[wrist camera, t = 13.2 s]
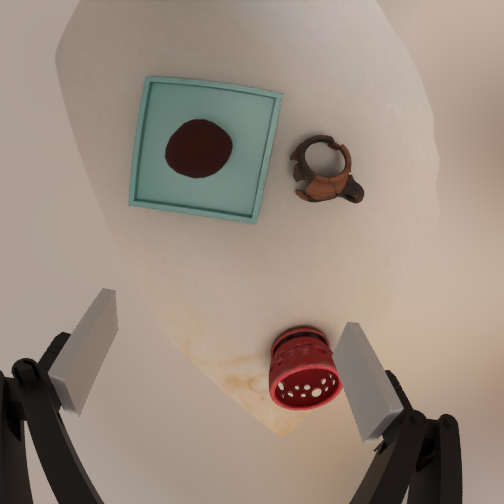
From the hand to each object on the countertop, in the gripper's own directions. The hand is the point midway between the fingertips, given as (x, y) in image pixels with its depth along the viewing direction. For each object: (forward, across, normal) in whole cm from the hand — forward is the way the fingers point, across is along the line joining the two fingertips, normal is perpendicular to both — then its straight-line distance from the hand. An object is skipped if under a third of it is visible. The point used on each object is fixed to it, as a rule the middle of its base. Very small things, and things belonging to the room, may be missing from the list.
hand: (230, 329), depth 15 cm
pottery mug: (+31, +12, +6) cm, 34 cm away
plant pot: (+31, +17, -27) cm, 45 cm away
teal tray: (+31, -6, +7) cm, 32 cm away
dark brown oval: (+30, -6, +7) cm, 32 cm away
